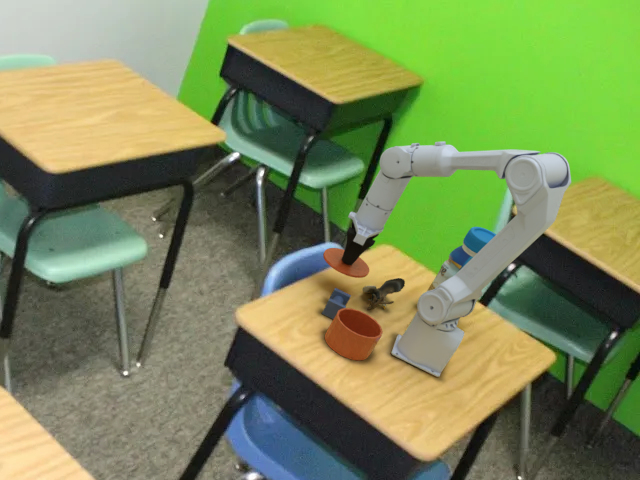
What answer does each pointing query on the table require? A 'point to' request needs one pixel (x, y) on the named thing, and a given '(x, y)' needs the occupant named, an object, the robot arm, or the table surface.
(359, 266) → the lid
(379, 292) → the eagle figurine
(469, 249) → the beverage bottle
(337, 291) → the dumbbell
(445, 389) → the table surface
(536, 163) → the robot arm
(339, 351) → the pot
